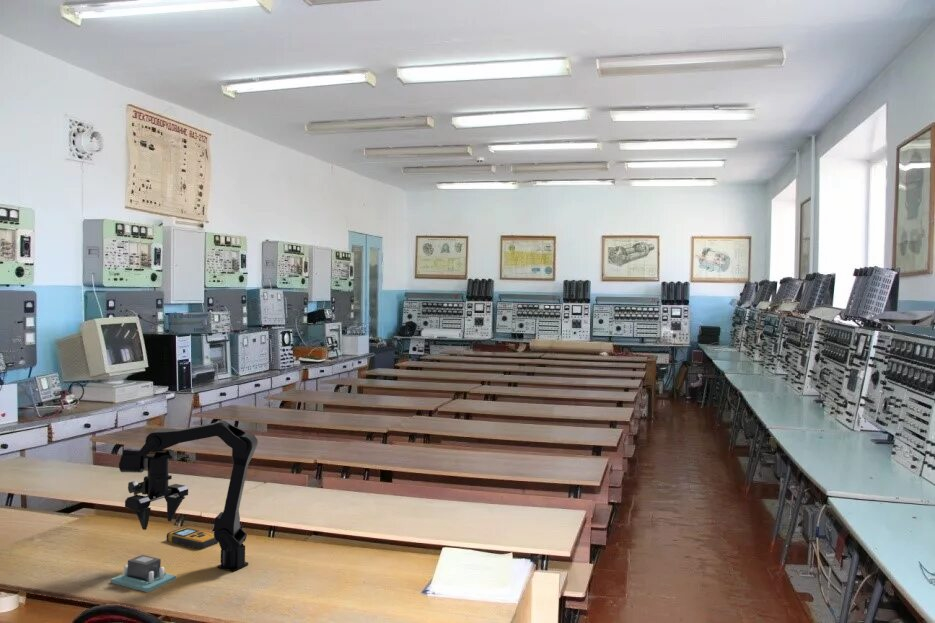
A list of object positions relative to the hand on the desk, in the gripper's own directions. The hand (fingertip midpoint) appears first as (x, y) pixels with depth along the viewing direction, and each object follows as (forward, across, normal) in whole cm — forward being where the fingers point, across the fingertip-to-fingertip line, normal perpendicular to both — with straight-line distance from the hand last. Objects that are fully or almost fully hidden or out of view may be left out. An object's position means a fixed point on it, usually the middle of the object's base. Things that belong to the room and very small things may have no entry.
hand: (157, 525), depth 215 cm
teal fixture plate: (+12, +10, +6) cm, 17 cm away
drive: (+11, +10, +6) cm, 16 cm away
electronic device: (+13, -20, -6) cm, 25 cm away
